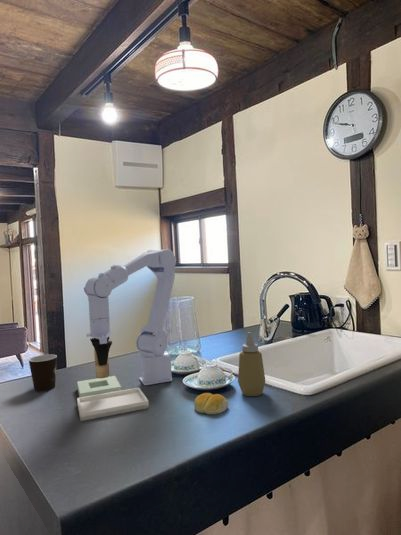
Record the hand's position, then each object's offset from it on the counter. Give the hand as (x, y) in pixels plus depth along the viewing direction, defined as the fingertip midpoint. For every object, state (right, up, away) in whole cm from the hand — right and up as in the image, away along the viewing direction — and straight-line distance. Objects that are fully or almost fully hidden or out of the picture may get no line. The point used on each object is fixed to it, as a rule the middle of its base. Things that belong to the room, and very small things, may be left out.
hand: (102, 363), depth 116 cm
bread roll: (+32, -10, -11) cm, 36 cm away
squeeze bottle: (+45, -9, -2) cm, 45 cm away
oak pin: (0, -4, 0) cm, 4 cm away
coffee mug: (-21, -11, +13) cm, 28 cm away
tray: (+5, -11, -7) cm, 13 cm away
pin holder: (-2, -10, +6) cm, 12 cm away
